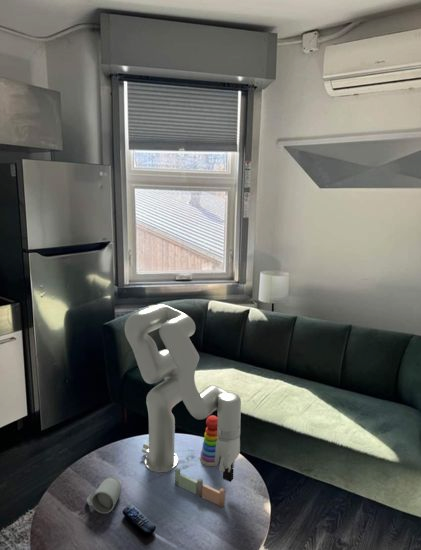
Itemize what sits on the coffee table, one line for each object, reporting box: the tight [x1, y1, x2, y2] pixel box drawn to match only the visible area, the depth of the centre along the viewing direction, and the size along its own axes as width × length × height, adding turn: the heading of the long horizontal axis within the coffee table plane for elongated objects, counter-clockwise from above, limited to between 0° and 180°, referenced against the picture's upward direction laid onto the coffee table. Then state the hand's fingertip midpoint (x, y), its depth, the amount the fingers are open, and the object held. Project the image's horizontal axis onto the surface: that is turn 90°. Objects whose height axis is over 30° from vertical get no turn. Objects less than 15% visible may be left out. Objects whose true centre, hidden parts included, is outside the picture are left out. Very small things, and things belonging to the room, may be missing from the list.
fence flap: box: [196, 478, 226, 508], centre depth 133 cm, size 10×2×6 cm, turn 60°
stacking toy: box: [199, 414, 218, 467], centre depth 151 cm, size 8×8×19 cm
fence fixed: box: [174, 467, 198, 495], centre depth 138 cm, size 9×2×6 cm, turn 60°
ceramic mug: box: [86, 477, 122, 514], centre depth 131 cm, size 11×8×8 cm
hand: (228, 479), depth 136 cm, fingers closed
